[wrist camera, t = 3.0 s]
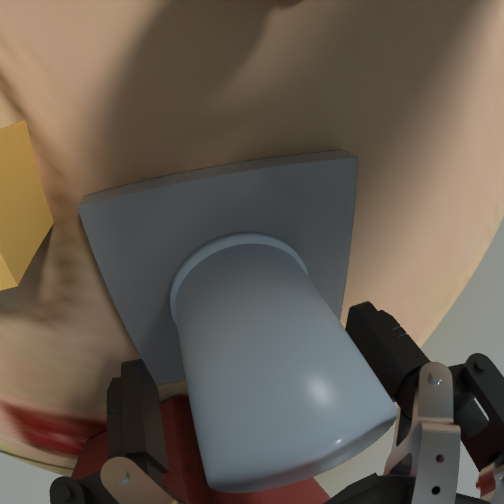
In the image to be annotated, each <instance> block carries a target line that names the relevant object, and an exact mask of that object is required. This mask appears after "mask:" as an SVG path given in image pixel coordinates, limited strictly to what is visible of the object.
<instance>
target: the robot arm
mask: <svg viewBox="0 0 504 504" xmlns="http://www.w3.org/2000/svg"><path fill="white" fill-rule="evenodd" d="M345 331H346V332H347V333H348V335H349V336H350V338H351V339H352V341H353V342H354V344H355V345H356V347H357V348H358V350H359V351H360V353H361V354H362V356H363V357H364V359H365V360H366V362H367V363H368V365H369V366H370V368H371V369H372V371H373V372H374V374H375V375H376V377H377V378H378V380H379V381H380V383H381V384H382V386H383V387H384V389H385V390H386V392H387V394H388V395H389V397H390V398H391V400H392V401H393V403H394V402H397V404H398V405H399V406H398V416H397V419H396V424H395V432H394V439H393V445H392V449H391V452H390V455H389V457H388V459H387V461H386V465H385V469H384V474H383V475H381V476H378V475H377V474H376V473H374V474H371V475H370V476H367V477H365V478H363V479H361V480H359V481H357V482H355V483H353V484H351V485H349V486H347V487H346V488H345V489H343V490H342V491H341V492H339V493H338V494H336V495H335V496H334V497H332V498H331V499H329V500H328V501H326V502H325V503H323V504H504V377H503V376H502V374H501V373H500V372H499V371H498V369H497V368H496V366H495V365H494V364H493V362H492V361H491V360H490V359H489V358H488V357H487V356H485V355H483V354H480V353H475V354H472V355H471V356H469V358H468V360H467V361H466V362H465V363H464V364H459V365H455V366H450V367H446V366H445V365H444V364H442V363H439V362H431V361H430V360H429V359H428V358H427V357H426V356H425V355H424V353H423V352H422V351H421V349H420V348H419V347H418V346H417V345H416V343H415V342H414V341H413V340H412V339H411V337H410V336H409V335H408V334H406V331H405V330H404V329H403V328H402V327H400V324H399V323H398V322H397V321H396V320H395V318H394V317H393V316H391V315H390V314H388V313H386V312H385V311H383V310H380V311H377V309H376V308H375V307H374V306H373V305H372V304H371V303H370V302H368V301H366V302H363V303H360V304H357V305H354V306H352V307H350V309H349V313H348V318H347V323H346V328H345ZM475 397H476V399H477V400H478V402H479V403H480V405H481V406H482V408H483V409H484V411H485V412H486V414H487V416H488V418H489V421H488V420H487V419H486V417H485V416H484V414H483V412H482V411H481V410H480V408H479V407H478V405H477V404H476V402H475V401H474V398H475ZM107 405H108V406H107V415H108V416H107V441H108V457H107V461H106V463H105V464H104V465H103V467H102V469H101V470H99V471H98V472H96V473H94V474H92V475H89V476H86V477H84V478H81V479H78V480H75V479H73V478H71V477H67V476H62V477H59V478H57V479H55V480H54V481H53V483H52V484H51V487H50V502H51V504H186V503H185V502H184V501H183V500H181V499H180V498H179V497H178V496H177V495H175V494H174V493H173V492H172V491H171V490H169V489H168V488H167V487H166V486H165V485H164V483H163V477H162V473H169V472H170V469H169V463H168V458H167V452H166V446H165V439H164V433H163V426H162V418H161V411H160V402H159V395H158V390H157V387H156V384H155V382H154V380H153V378H152V376H151V374H150V372H149V371H148V369H147V367H146V365H145V363H144V361H143V360H142V359H138V360H132V361H126V362H122V364H121V377H119V378H112V381H111V383H110V385H109V388H108V390H107ZM460 439H461V441H462V443H463V444H464V446H465V447H466V449H467V451H468V453H469V455H470V456H471V458H472V460H473V462H474V463H475V465H476V467H477V468H478V471H479V472H480V474H479V478H478V480H477V482H476V488H477V489H479V490H481V496H480V499H479V498H474V497H470V496H466V495H462V494H459V493H456V489H457V481H458V472H459V459H460V458H459V457H460Z"/></svg>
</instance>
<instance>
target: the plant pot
mask: <svg viewBox="0 0 504 504" xmlns="http://www.w3.org/2000/svg"><path fill="white" fill-rule="evenodd" d="M160 411H161V418H162V426H163V433H164V439H165V446H166V452H167V458H168V463H169V469H170V472H169V473H162V477H163V483H164V485H165V486H166V487H167V488H168V489H169V490H171V491H172V492H173V493H174V494H175V495H177V496H178V497H179V498H180V499H181V500H183V501H184V502H185V503H186V504H323V503H325V502H326V501H328V500H329V499H331V498H330V497H329V495H328V494H327V493H326V492H325V491H324V490H323V488H322V487H321V486H320V485H319V484H318V483H317V482H316V480H315V479H314V478H313V477H311V478H308V479H306V480H303V481H300V482H297V483H294V484H290V485H287V486H283V487H279V488H275V489H270V490H264V491H258V492H249V493H225V492H219V491H216V490H213V489H212V488H210V487H209V485H208V483H207V479H206V475H205V471H204V467H203V463H202V458H201V454H200V450H199V445H198V441H197V436H196V431H195V426H194V422H193V417H192V411H191V406H190V401H189V397H186V396H178V397H173V398H170V399H168V400H166V401H165V402H163V403H161V404H160ZM107 457H108V441H107V431H106V432H104V433H101V434H99V435H97V436H95V437H93V438H91V439H89V440H88V441H87V442H86V444H85V446H84V448H83V450H82V452H81V454H80V456H79V459H78V461H77V464H76V466H75V469H74V471H73V474H72V476H71V478H73V479H75V480H78V479H81V478H84V477H86V476H89V475H92V474H94V473H96V472H98V471H99V470H101V469H102V467H103V465H104V464H105V463H106V461H107Z"/></svg>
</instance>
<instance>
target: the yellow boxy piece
mask: <svg viewBox="0 0 504 504" xmlns="http://www.w3.org/2000/svg"><path fill="white" fill-rule="evenodd" d="M53 223H54V220H53V217H52V215H51V212H50V209H49V206H48V203H47V200H46V197H45V194H44V190H43V187H42V184H41V180H40V177H39V174H38V170H37V166H36V163H35V159H34V155H33V151H32V147H31V142H30V138H29V134H28V129H27V124H26V120H24V121H21V122H18V123H16V124H13V125H10V126H8V127H5V128H3V129H0V291H1V290H5V289H9V288H13V287H17V286H18V285H19V283H20V281H21V279H22V277H23V275H24V273H25V271H26V269H27V267H28V266H29V264H30V262H31V260H32V258H33V257H34V255H35V253H36V251H37V250H38V248H39V246H40V244H41V243H42V241H43V239H44V238H45V236H46V235H47V233H48V231H49V230H50V228H51V226H52V225H53Z"/></svg>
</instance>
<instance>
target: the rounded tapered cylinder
mask: <svg viewBox="0 0 504 504" xmlns="http://www.w3.org/2000/svg"><path fill="white" fill-rule="evenodd" d="M170 306H171V313H172V317H173V320H174V322H175V324H176V326H177V327H178V333H179V340H180V347H181V353H182V360H183V366H184V372H185V378H186V384H187V390H188V396H189V401H190V406H191V411H192V417H193V422H194V426H195V431H196V436H197V441H198V445H199V450H200V454H201V458H202V463H203V467H204V471H205V475H206V479H207V483H208V485H209V487H210V488H212V489H213V490H216V491H219V492H225V493H249V492H258V491H264V490H270V489H275V488H279V487H283V486H287V485H290V484H294V483H297V482H300V481H303V480H306V479H308V478H311V477H314V476H316V475H318V474H321V473H323V472H326V471H328V470H330V469H332V468H334V467H336V466H338V465H340V464H342V463H344V462H346V461H347V460H349V459H351V458H352V457H354V456H356V455H357V454H359V453H360V452H362V451H363V450H365V449H366V448H367V447H369V446H370V445H372V444H373V443H374V442H376V441H377V440H378V439H379V438H380V437H381V436H382V435H384V434H385V433H386V432H387V431H388V430H389V428H390V427H391V426H392V425H393V423H394V422H395V420H396V419H397V416H398V409H397V408H396V406H395V404H394V403H393V401H392V400H391V398H390V397H389V395H388V394H387V392H386V390H385V389H384V387H383V386H382V384H381V383H380V381H379V380H378V378H377V377H376V375H375V374H374V372H373V371H372V369H371V368H370V366H369V365H368V363H367V362H366V360H365V359H364V357H363V356H362V354H361V353H360V351H359V350H358V348H357V347H356V345H355V344H354V342H353V341H352V339H351V338H350V336H349V335H348V333H347V332H346V331H345V329H344V328H343V326H342V325H341V323H340V322H339V320H338V319H337V317H336V316H335V314H334V313H333V312H332V310H331V309H330V307H329V306H328V304H327V303H326V302H325V300H324V299H323V297H322V296H321V294H320V293H319V291H318V290H317V289H316V287H315V286H314V284H313V283H312V282H311V280H310V279H309V276H308V271H307V269H306V266H305V264H304V262H303V261H302V259H301V258H300V257H299V255H298V254H297V253H296V251H295V250H294V249H293V248H292V247H291V246H290V245H289V244H288V243H286V242H285V241H283V240H282V239H280V238H278V237H275V236H273V235H270V234H266V233H262V232H253V231H248V232H236V233H230V234H227V235H223V236H220V237H217V238H215V239H212V240H210V241H209V242H207V243H205V244H203V245H201V246H200V247H199V248H197V249H196V250H194V251H193V252H192V253H191V254H190V255H189V256H188V257H187V258H186V259H185V260H184V261H183V262H182V264H181V265H180V266H179V268H178V270H177V271H176V273H175V275H174V277H173V280H172V283H171V287H170Z"/></svg>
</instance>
